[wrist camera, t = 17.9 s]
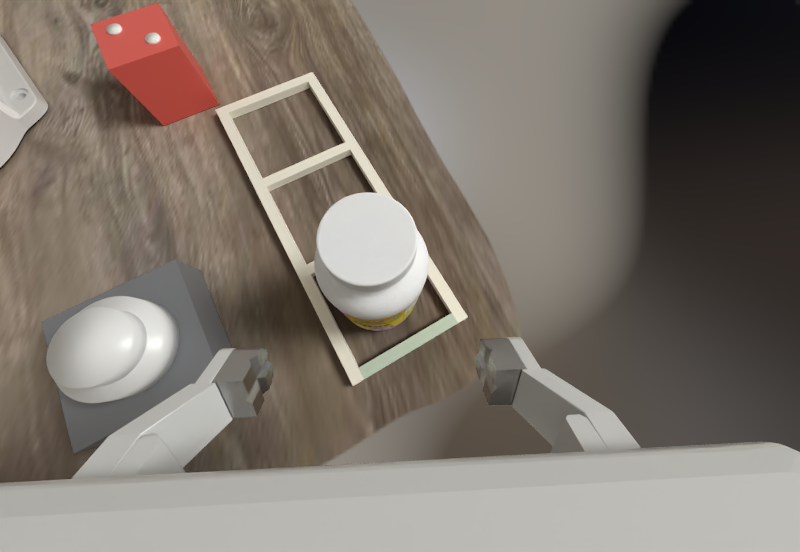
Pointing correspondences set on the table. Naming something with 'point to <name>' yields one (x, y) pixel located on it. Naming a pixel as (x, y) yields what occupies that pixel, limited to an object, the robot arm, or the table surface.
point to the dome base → (197, 347)
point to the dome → (113, 349)
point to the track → (294, 254)
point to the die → (154, 63)
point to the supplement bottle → (370, 260)
